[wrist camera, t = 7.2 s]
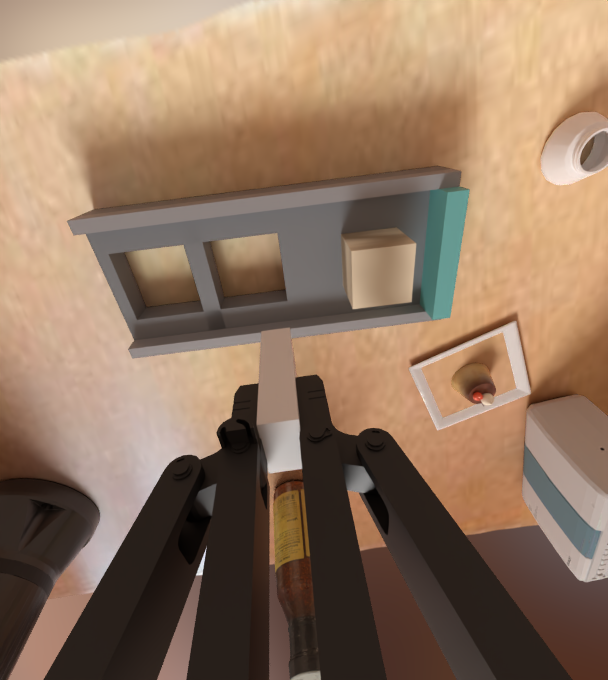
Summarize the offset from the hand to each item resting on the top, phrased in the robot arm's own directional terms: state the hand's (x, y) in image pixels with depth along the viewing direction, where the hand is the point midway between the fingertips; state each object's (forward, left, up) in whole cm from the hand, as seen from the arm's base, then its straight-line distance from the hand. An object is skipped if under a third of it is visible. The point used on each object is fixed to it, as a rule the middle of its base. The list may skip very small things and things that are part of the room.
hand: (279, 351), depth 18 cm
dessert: (+20, -17, -15) cm, 31 cm away
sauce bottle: (-3, -35, -15) cm, 38 cm away
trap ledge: (0, 0, -14) cm, 14 cm away
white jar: (+25, +6, -15) cm, 29 cm away
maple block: (+8, 0, -12) cm, 14 cm away
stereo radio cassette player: (+33, -31, -15) cm, 48 cm away
